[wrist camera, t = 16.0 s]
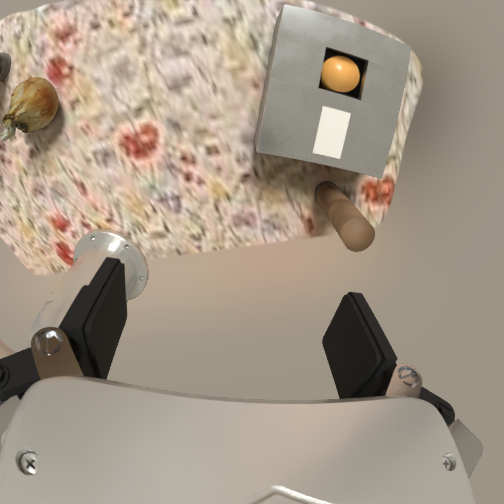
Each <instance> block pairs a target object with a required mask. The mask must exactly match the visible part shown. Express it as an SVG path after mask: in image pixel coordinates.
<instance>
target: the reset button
mask: <svg viewBox="0 0 504 504" xmlns="http://www.w3.org/2000/svg"><path fill="white" fill-rule="evenodd" d="M359 78H360V74H359V70H358V67H357V66H356V64H355V63H354V62H353V61H352V60H350V59H349V58H347V57H344V56H334V57H331V58H328V59H325V60H324V61H323V66H322V71H321V76H320V82H319V87H320V88H321V89H324V90H327V91H331V92H348V91H351V90H352V89H354V88H355V87H356V86H357V84H358V82H359Z"/></svg>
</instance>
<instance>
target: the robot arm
mask: <svg viewBox="0 0 504 504" xmlns="http://www.w3.org/2000/svg"><path fill="white" fill-rule="evenodd" d="M147 280H148V265H147V262H146V259H145V257H144V255H143V254H142V252H141V250H140V249H139V248H138V247H137V245H136V244H135V243H134V242H132V241H131V240H130V239H129V238H127V237H126V236H124V235H123V234H120V233H118V232H116V231H112V230H109V229H97V230H93V231H90V232H88V233H87V234H85V235H84V236H83V237H82V238H81V239H80V240H79V242H78V243H77V245H76V247H75V250H74V264H73V265H72V267H71V268H70V269H69V271H68V272H67V273H66V275H65V276H64V277H63V279H62V280H61V282H60V283H59V284H58V286H57V287H56V289H55V290H54V292H53V293H52V294H51V296H50V297H49V299H48V300H47V302H46V303H45V305H44V306H43V308H42V309H41V311H40V312H39V314H38V315H37V317H36V318H35V320H34V322H33V324H32V326H31V329H30V333H29V340H28V342H29V344H28V345H29V346H28V348H27V349H25V350H22V351H20V352H17V353H15V352H14V351H13V350H12V349H11V348H10V347H8V346H7V345H6V344H5V343H4V342H3V341H2V340H1V339H0V504H475V501H474V497H473V493H472V490H471V486H470V482H469V478H470V476H471V474H472V472H473V471H474V469H475V467H476V465H477V463H478V461H479V459H480V457H481V455H482V453H483V446H482V443H481V442H480V440H479V439H478V438H477V437H476V436H475V435H474V434H473V433H472V432H471V431H470V430H469V429H468V428H467V427H466V426H465V425H464V424H463V423H462V422H461V421H460V420H459V419H457V420H456V421H455V420H454V419H455V413H454V410H453V408H452V407H451V405H450V404H449V403H448V402H446V401H445V400H443V399H441V398H440V397H438V396H437V395H435V394H433V393H432V392H430V391H428V390H427V389H425V388H423V387H422V377H421V375H420V373H419V371H418V370H417V369H416V368H414V367H413V366H411V365H409V364H405V363H402V364H399V365H397V364H396V360H397V357H396V355H395V353H394V351H393V349H392V347H391V345H390V343H389V341H388V340H387V338H386V336H385V334H384V332H383V330H382V328H381V327H380V325H379V323H378V321H377V319H376V317H375V316H374V314H373V312H372V310H371V308H370V307H369V305H368V303H367V302H366V300H365V298H364V296H363V295H362V294H361V293H355V292H349V293H348V294H347V295H344V297H343V298H342V300H341V303H340V305H339V307H338V309H337V311H336V313H335V315H334V317H333V319H332V321H331V323H330V325H329V327H328V329H327V331H326V333H325V335H324V337H323V342H322V344H323V347H324V350H325V353H326V356H327V360H328V363H329V366H330V369H331V372H332V375H333V378H334V381H335V384H336V388H337V391H338V395H339V398H340V399H328V400H262V399H242V398H227V397H216V396H205V395H197V394H188V393H181V392H174V391H167V390H161V389H155V388H149V387H143V386H137V385H131V384H126V383H121V382H117V381H111V380H106V379H107V376H108V373H109V369H110V366H111V363H112V360H113V357H114V354H115V351H116V348H117V345H118V342H119V339H120V337H121V334H122V331H123V328H124V326H125V323H126V319H127V302H128V300H131V299H133V298H136V297H137V296H138V295H139V294H141V292H142V291H143V290H144V288H145V286H146V283H147Z"/></svg>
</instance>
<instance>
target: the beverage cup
mask: <svg viewBox="0 0 504 504" xmlns="http://www.w3.org/2000/svg"><path fill="white" fill-rule="evenodd" d="M10 66H11V58H10V56H9V55H8V54H3V53H0V81H2V80H3V79H4V78H5V77H6V76H7V74H8V72H9V70H10Z"/></svg>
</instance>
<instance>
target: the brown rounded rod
mask: <svg viewBox="0 0 504 504" xmlns="http://www.w3.org/2000/svg"><path fill="white" fill-rule="evenodd" d="M315 198H316V200H317V201H318V203H319V205H320V206H321V208H322V209H323V211H324V212H325V214H326V215H327V217H328V218H329V220H330V222H331V223H332V225H333V226H334V228H335V230H336V231H337V233H338V234H339V236H340V238H341V239H342V241H343V243H344V244H345V246H346V247H347V248H348V249H349V250H351V251H354V252H359V251H363V250H365V249H366V248H368V247H369V246H370V245H371V243H372V242H373V240H374V237H375V231H374V228H373V226H372V225H371V224H370V223H369V222H368V221H367V219H366V218H365V217H364V216H363V215H362V214H361V213H360V211H359V210H358V209H357V208H356V207H355V206H354V205H353V204H352V202H351V201H350V200H349V199H348V198H347V197H346V196H345V195H344V194H343V193H342V191H341V190H340V189H339V188H338V187H337V186H336V185H335V184H334V183H332V182H328V181H326V182H322V183H320V184H319V185H318V186H317V188H316V190H315Z"/></svg>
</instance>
